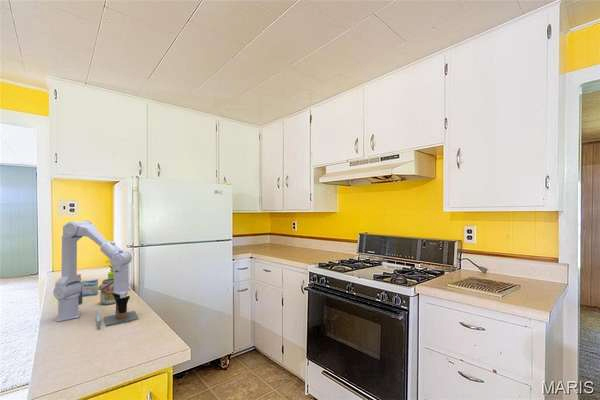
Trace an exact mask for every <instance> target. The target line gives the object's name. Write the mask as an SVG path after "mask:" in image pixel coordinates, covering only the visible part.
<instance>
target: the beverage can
mask: <svg viewBox="0 0 600 400" xmlns="http://www.w3.org/2000/svg"><path fill="white" fill-rule="evenodd" d="M101 282H102V283H101V284H100V285H98V291H100V304H101V305H102V306H109V305H115V304H116V301H115V297H114V295H113V291H114V278H111V279H108V278H106V279H103V280H102V281H101Z"/></svg>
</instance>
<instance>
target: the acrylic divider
mask: <svg viewBox="0 0 600 400" xmlns="http://www.w3.org/2000/svg"><path fill="white" fill-rule="evenodd" d="M95 322H96V330H97V331H99V330H101V316H100V310H99V309H97V310H96V311H95Z"/></svg>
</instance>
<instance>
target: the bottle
mask: <svg viewBox="0 0 600 400" xmlns="http://www.w3.org/2000/svg"><path fill="white" fill-rule="evenodd" d="M77 276H79V277H80V278H82V274H79V273H77ZM82 304H83V297H82V292H81V293H80V295H79V296H78V306H80V305H82Z"/></svg>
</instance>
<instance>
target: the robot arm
mask: <svg viewBox="0 0 600 400" xmlns="http://www.w3.org/2000/svg"><path fill="white" fill-rule="evenodd" d="M83 237H88V238H89V239H90V240H91V241H93V242H94V243H95V244H97V245H98V246H99V247H100V250H99V251H101V252H102V253H103V254H104V255H105V256H106V257H107V258H108V259H109V261H110V262H109V263H110V265H111V266H113V270H114V291H113V295H114V297H115V301H116V303H115V305H116V304H117V305H118V310H119V314H121V313H125V311H126V306H127V307H128V302H129V301H130V298H131V296H130V295H127V294H128V293H129V291H132V290H133V289H132V287H130V286H129V285H130V284H129V282H130V281H129V280H130V274H129V273H130V271H129V270H130V269H129V268H130V267H129V266H130V263H131V262H132V258H133V257H132V255H131V253H130V252H129V251H127V250H126V251H124V250H123V249H121V248H120V246H118V245H116V242H115V241H112V240H111V241H110V240H107V239H106V238H105V237H104V236H103V234H101V233H100V232H99V231H98V229H97V228H96V225H95V224H93V222H91V221H90V220H85V221H84V220H82V221H68V222H67V223H65V224H64V225H63V226H62V236H61V276H60V278H59V279H58V280H56V282H55V283H54V285H55V286H54V288H53V291H52V293H53V296H54V298H55V299H56V301H57V303H58V305H57V308H58V309H57V317H56V319H55V320H56V323H57V322H62V321H68V320H72V319H73V320H74V319H78V318H79V319H80V314H81V313H80V310H79V305H78V296H79V295H80V293H81V292H82V290H83V285H82V282H81V281H82V277H79V276H77V274H78V273H77V272H78V264H77V263H78V255H77V254H78V241H79V240H81V239H82V238H83Z"/></svg>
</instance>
